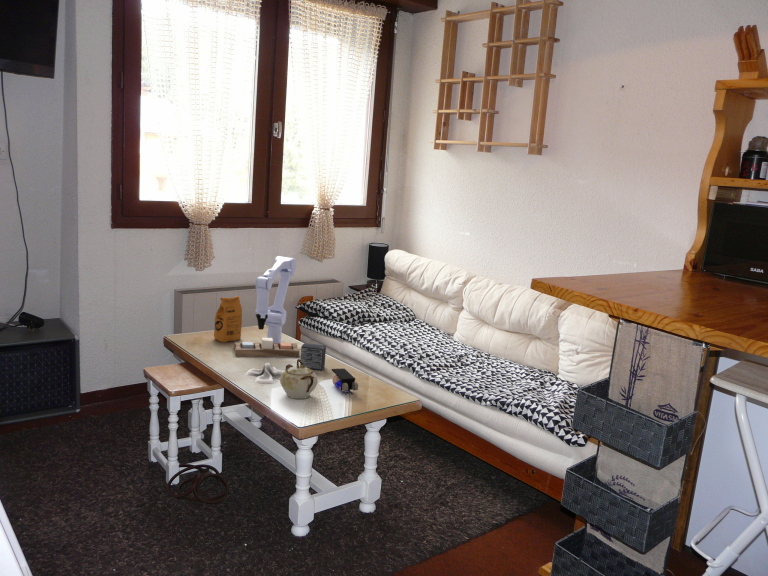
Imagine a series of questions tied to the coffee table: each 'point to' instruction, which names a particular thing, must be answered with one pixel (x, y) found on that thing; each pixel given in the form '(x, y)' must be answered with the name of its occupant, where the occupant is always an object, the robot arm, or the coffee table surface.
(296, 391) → the sugar bowl
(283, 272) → the robot arm
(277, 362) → the coffee table surface
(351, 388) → the figurine character
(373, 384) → the coffee table surface
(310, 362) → the small box
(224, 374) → the coffee table surface
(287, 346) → the terracotta block
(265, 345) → the cream block
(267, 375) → the cloth
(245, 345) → the slate block
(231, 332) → the coffee package
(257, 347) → the block rack
